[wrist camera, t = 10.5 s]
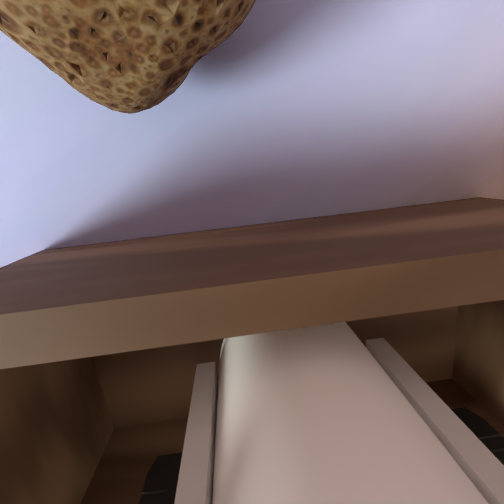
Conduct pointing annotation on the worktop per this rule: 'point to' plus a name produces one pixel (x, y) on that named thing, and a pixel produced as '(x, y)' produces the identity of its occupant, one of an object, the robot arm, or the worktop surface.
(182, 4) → the natural sponge
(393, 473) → the can
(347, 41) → the worktop surface
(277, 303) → the narrow open box
